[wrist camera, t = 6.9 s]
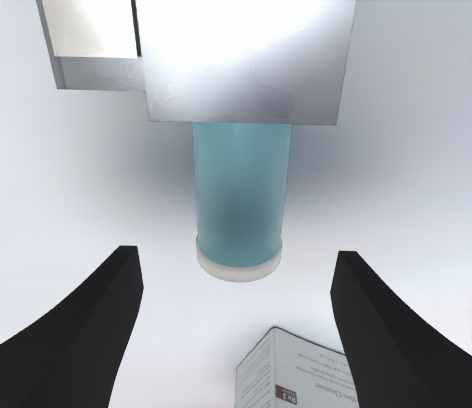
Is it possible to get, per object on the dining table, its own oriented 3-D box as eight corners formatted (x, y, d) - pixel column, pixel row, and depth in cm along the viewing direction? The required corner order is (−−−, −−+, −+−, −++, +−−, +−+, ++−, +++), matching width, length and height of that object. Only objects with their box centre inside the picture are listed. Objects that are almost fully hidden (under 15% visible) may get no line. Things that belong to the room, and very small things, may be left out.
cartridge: (189, -57, 14) (169, -69, 10) (303, -56, 14) (324, -66, 10) (201, 227, 20) (191, 281, 17) (277, 229, 20) (284, 283, 17)
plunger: (152, -39, 14) (125, -42, 11) (159, 41, 16) (137, 57, 12) (79, -40, 14) (31, -44, 11) (92, 39, 16) (54, 56, 12)
